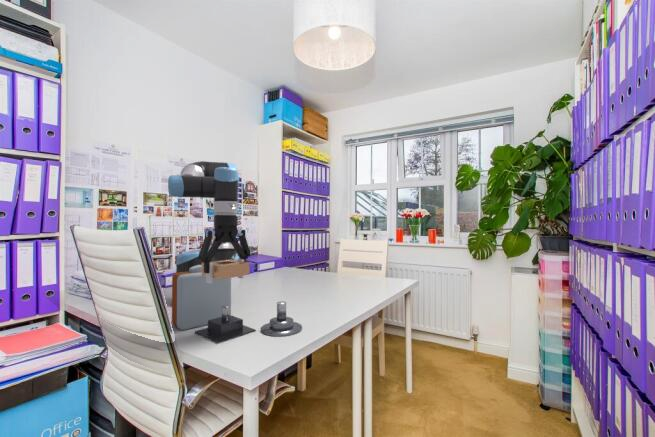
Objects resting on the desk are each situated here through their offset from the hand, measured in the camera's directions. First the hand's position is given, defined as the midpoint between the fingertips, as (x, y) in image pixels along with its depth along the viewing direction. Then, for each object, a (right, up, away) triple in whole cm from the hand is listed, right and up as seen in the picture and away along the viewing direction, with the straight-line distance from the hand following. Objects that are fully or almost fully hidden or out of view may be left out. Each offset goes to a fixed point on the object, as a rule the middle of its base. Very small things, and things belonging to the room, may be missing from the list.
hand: (225, 280), depth 104 cm
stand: (0, -17, 0) cm, 17 cm away
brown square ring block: (0, +2, 0) cm, 2 cm away
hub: (+18, -17, +3) cm, 25 cm away
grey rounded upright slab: (-11, -17, +9) cm, 23 cm away
